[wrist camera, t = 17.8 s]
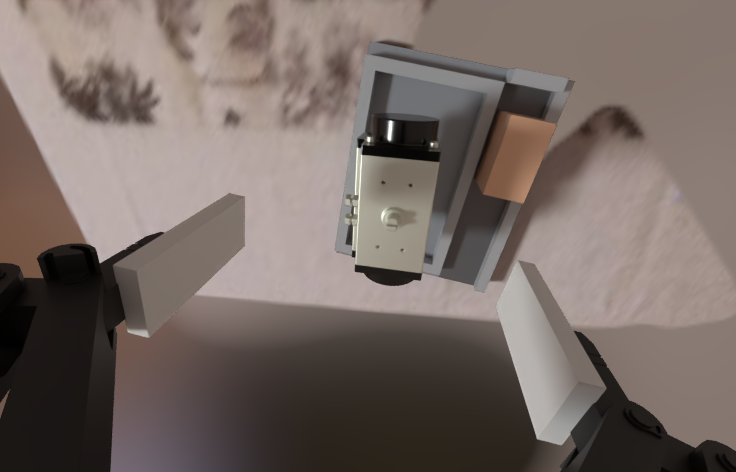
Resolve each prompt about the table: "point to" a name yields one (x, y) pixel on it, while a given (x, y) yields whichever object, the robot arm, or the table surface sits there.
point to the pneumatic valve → (394, 196)
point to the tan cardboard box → (513, 155)
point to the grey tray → (452, 147)
